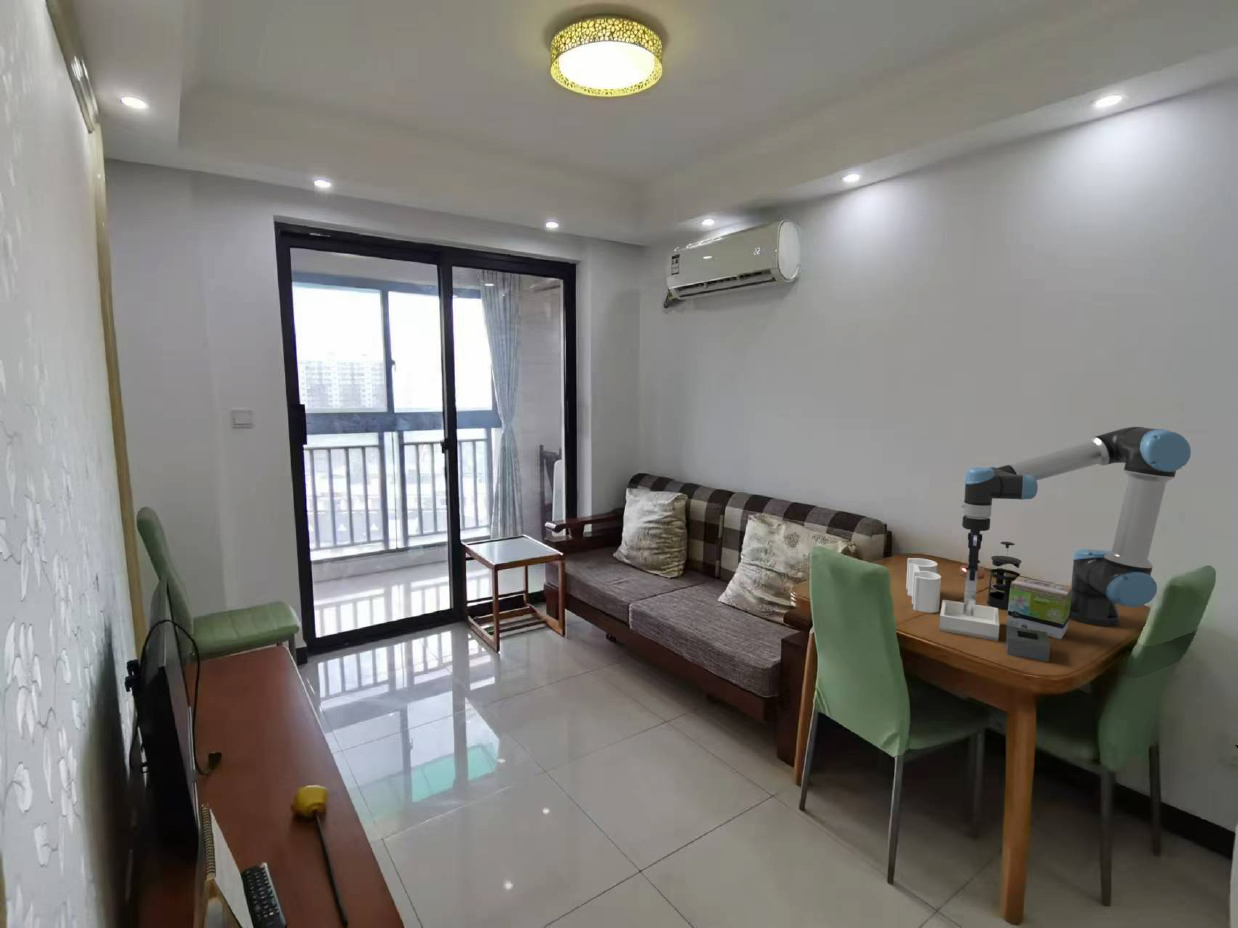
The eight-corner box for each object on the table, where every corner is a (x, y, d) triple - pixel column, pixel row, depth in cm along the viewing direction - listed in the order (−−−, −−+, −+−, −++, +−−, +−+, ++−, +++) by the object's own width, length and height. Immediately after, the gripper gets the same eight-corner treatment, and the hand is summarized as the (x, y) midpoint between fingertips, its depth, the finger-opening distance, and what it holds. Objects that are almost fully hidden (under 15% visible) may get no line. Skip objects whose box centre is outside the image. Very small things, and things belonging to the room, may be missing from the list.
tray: (996, 622, 197) (997, 608, 196) (998, 641, 184) (999, 625, 183) (941, 613, 205) (942, 599, 205) (939, 630, 192) (940, 615, 191)
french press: (1022, 612, 205) (1028, 547, 202) (991, 609, 208) (996, 545, 205) (1012, 600, 216) (1017, 538, 213) (982, 597, 219) (987, 536, 216)
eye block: (1045, 648, 178) (1046, 632, 178) (1048, 662, 170) (1050, 645, 169) (1005, 641, 183) (1006, 625, 183) (1006, 654, 175) (1008, 638, 174)
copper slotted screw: (956, 608, 199) (960, 561, 196) (981, 612, 195) (985, 565, 193) (956, 615, 193) (959, 567, 190) (981, 620, 189) (985, 571, 187)
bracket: (942, 614, 205) (945, 580, 203) (911, 610, 208) (913, 577, 206) (933, 590, 228) (935, 559, 226) (905, 587, 231) (907, 557, 229)
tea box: (1005, 626, 194) (1009, 582, 192) (1013, 617, 201) (1017, 575, 199) (1062, 640, 184) (1066, 594, 182) (1068, 630, 191) (1073, 586, 189)
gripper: (963, 509, 200) (958, 575, 203) (962, 521, 183) (956, 593, 186) (990, 511, 196) (984, 578, 199) (991, 524, 179) (985, 597, 182)
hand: (971, 585), depth 193 cm, fingers closed on copper slotted screw, 7 cm apart
